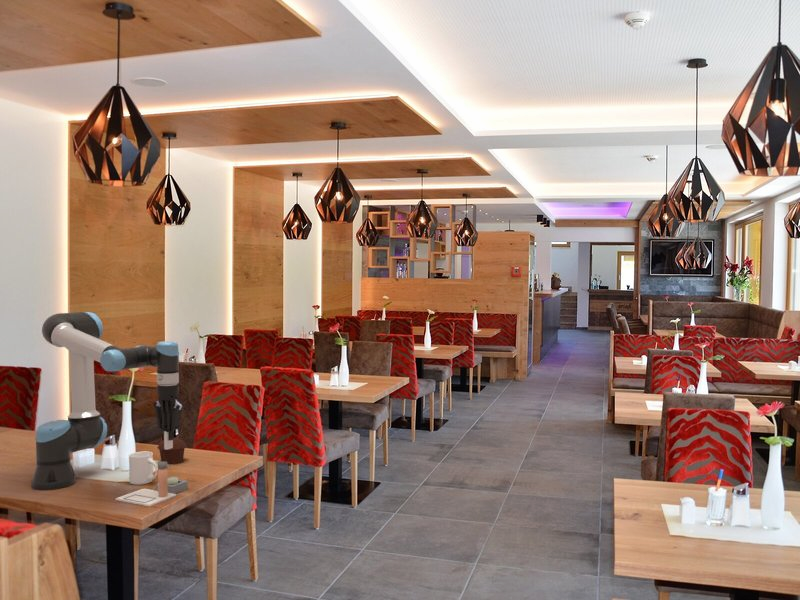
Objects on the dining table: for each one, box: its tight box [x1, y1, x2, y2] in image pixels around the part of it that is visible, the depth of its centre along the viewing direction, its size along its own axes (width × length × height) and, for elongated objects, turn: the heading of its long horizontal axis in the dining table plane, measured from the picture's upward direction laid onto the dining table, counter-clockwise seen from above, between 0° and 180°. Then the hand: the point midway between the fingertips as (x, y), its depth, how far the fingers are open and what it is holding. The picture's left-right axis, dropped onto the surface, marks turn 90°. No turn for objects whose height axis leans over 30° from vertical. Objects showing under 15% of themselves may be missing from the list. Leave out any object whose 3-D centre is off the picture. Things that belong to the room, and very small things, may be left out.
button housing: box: [155, 479, 189, 495], centre depth 260 cm, size 8×8×3 cm
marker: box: [157, 461, 169, 497], centre depth 252 cm, size 3×3×12 cm
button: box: [168, 476, 179, 485], centre depth 260 cm, size 4×4×3 cm
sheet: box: [115, 488, 177, 507], centre depth 252 cm, size 16×13×1 cm
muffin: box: [157, 437, 187, 465], centre depth 300 cm, size 12×11×10 cm
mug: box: [128, 450, 158, 486], centre depth 271 cm, size 9×12×11 cm
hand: (168, 448), depth 257 cm, fingers closed
